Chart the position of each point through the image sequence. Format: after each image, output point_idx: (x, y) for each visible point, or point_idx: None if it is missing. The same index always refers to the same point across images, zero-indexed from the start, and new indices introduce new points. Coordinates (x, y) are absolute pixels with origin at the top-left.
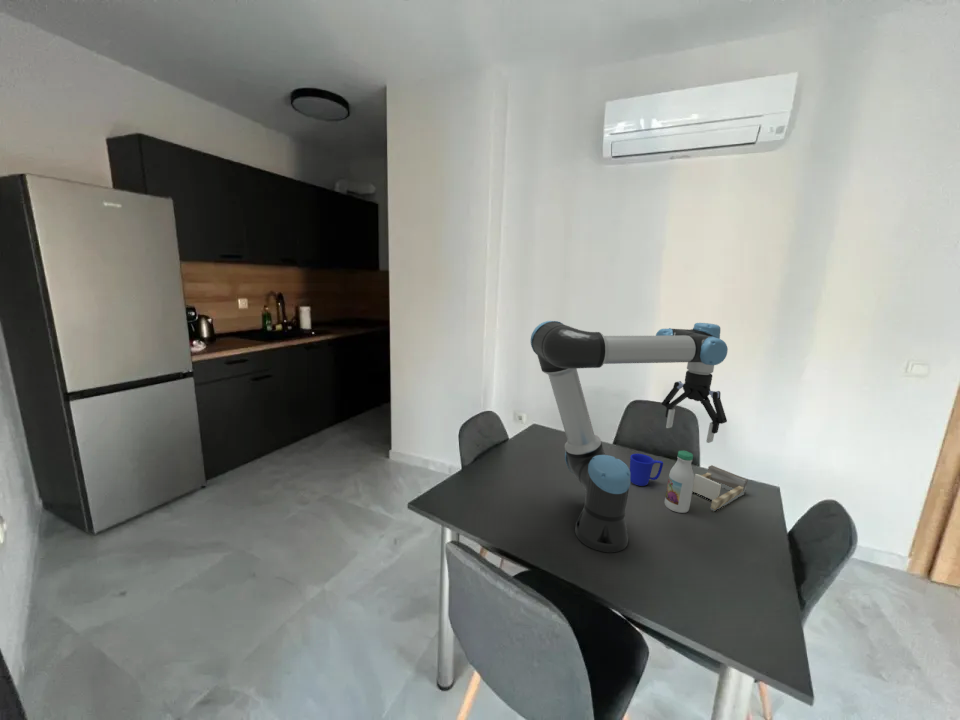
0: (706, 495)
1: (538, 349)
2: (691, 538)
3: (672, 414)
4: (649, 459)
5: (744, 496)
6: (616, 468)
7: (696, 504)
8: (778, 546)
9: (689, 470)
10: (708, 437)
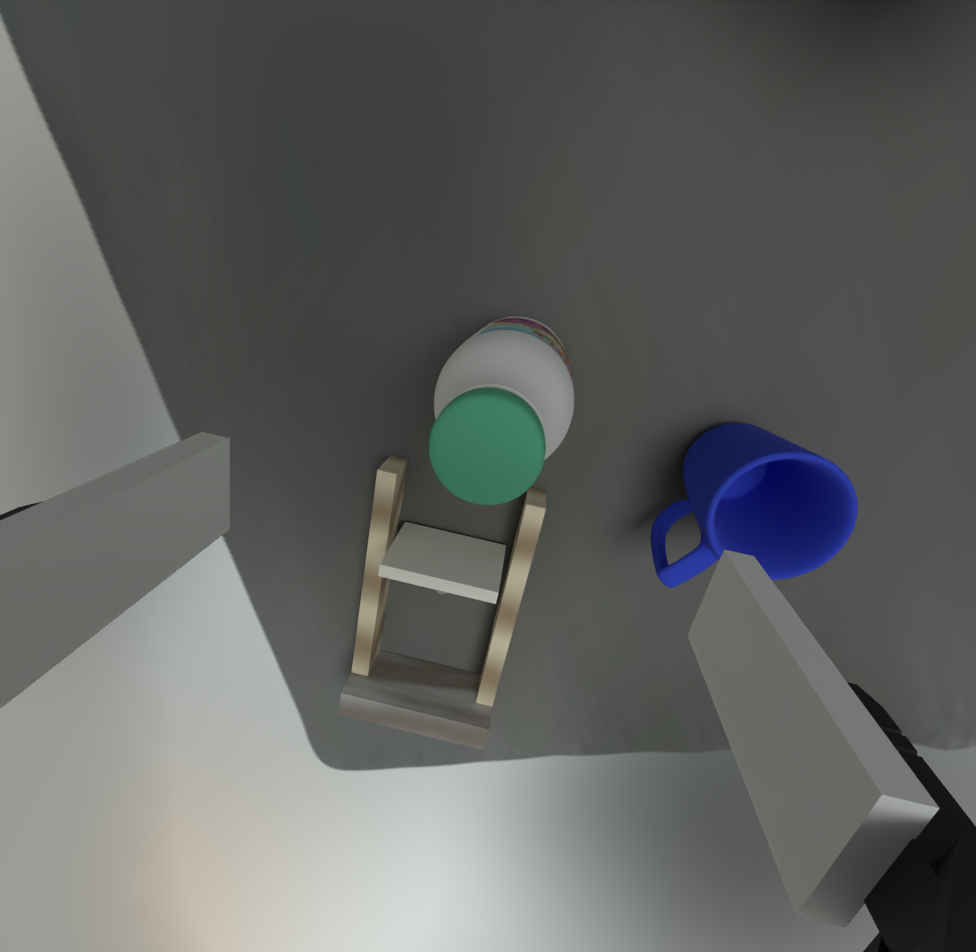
0: (444, 537)
1: None
2: (380, 142)
3: (780, 758)
4: None
5: None
6: None
7: None
8: (163, 380)
9: (448, 393)
10: (169, 457)
